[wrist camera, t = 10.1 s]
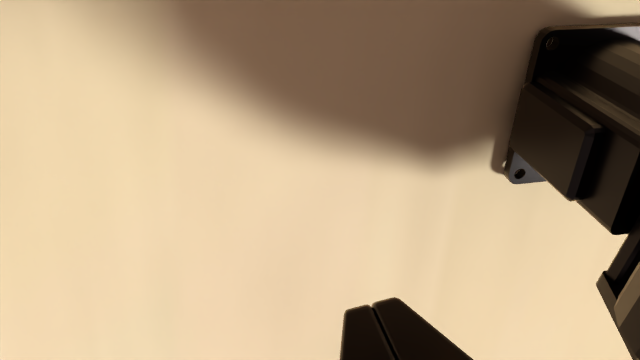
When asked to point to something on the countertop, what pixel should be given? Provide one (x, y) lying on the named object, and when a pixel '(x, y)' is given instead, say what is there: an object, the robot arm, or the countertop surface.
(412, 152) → the countertop surface
